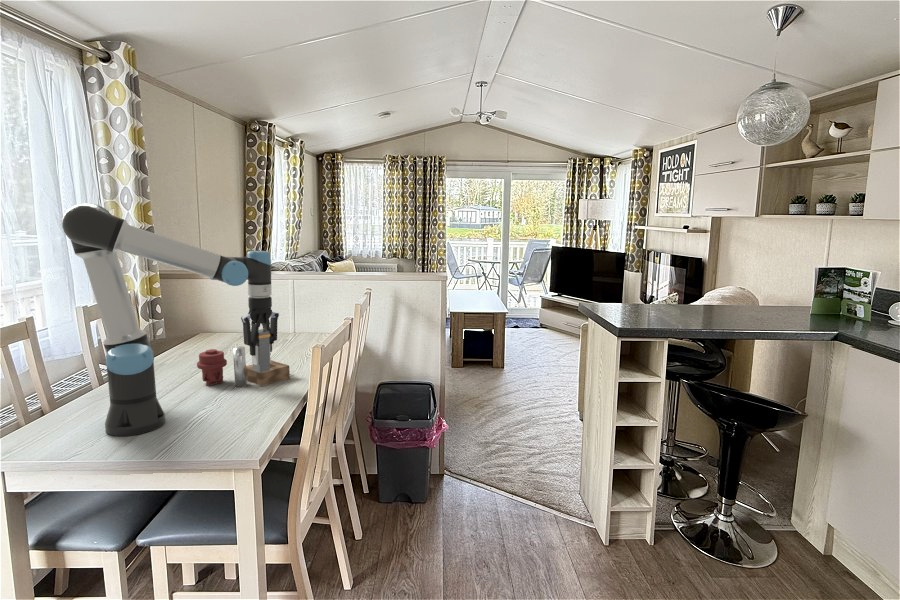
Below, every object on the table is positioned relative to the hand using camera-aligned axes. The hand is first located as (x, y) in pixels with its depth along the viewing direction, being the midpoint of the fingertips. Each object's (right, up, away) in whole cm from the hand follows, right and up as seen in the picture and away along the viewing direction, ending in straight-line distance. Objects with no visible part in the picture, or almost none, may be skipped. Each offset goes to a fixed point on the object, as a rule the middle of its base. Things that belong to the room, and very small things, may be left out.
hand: (261, 362), depth 185 cm
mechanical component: (-22, -9, +11) cm, 26 cm away
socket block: (-4, -8, +16) cm, 18 cm away
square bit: (0, -3, 0) cm, 3 cm away
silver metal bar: (-11, -9, +9) cm, 17 cm away
